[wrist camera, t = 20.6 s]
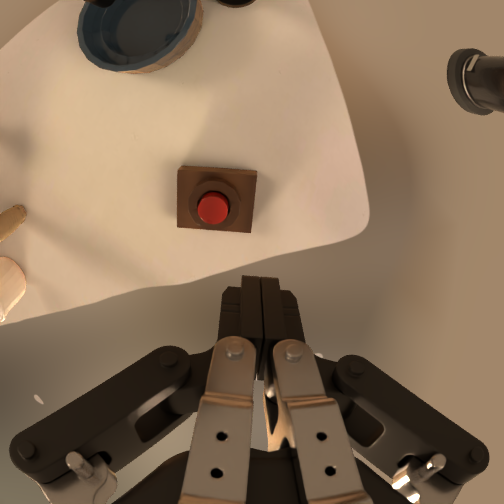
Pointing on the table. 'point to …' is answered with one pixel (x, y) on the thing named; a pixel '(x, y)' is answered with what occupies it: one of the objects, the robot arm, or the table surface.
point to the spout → (101, 3)
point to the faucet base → (235, 3)
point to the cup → (10, 285)
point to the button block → (221, 181)
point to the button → (213, 208)
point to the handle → (11, 220)
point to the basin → (138, 33)
